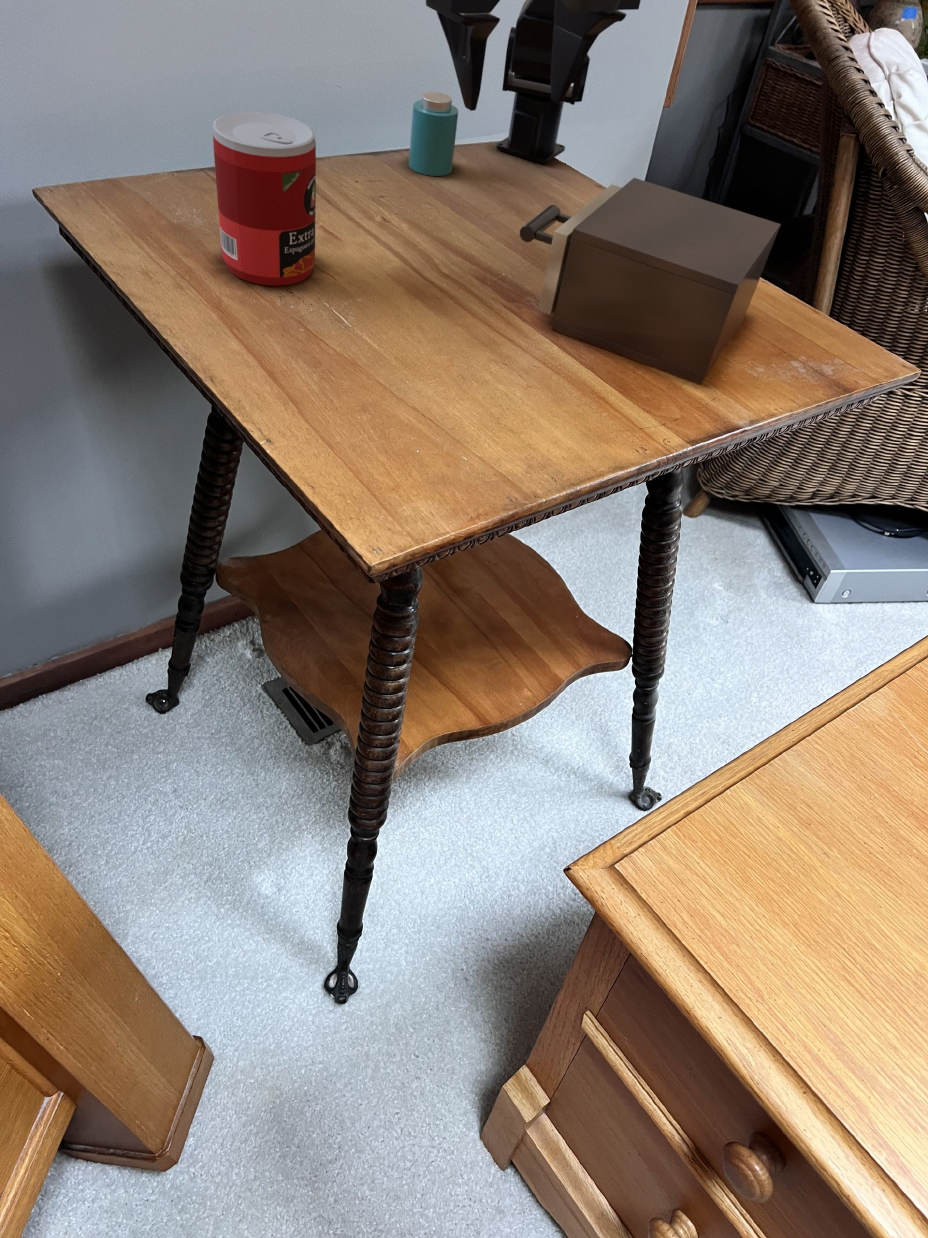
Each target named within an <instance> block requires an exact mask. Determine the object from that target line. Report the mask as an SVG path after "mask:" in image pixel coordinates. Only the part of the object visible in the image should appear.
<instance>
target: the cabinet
mask: <svg viewBox="0 0 928 1238" xmlns="http://www.w3.org/2000/svg"><path fill="white" fill-rule="evenodd" d="M781 225H782V224H781V223H778V222H775V221H772V220H770V219H766V218H763V217H759V216H756V215H753V214H750V213H747V212H743V211H741V210H738V209H734V208H731V207H728V206H725V205H722V204H719V203H715V202H713V201H709V200H706V199H704V198H700V197H696V196H693V195H690V194H687V193H684V192H680V191H678V190H674V189H672V188H669V187H665V186H662V185H658V184H656V183H652V182H649V181H646V180H643V179H640V178H637V177H633V178H632V179H630V180H629V181H628V182H627V183H625V185H623V186H621V189H620V190H619V191H618V192H616V193H615V194H614V195H613V196H612V197H610V198H609V199H608V200H607V201H606V202H605V203H603V204H602V205H601V206H600V207H599V208H597V209H596V210H595V211H594V212H593V213H592V214H590V215H589V216H588V217H587V218H586V219H584V220H583V221H582V222H581V223H580V224H578V225H577V226H576V227H575V228H574V229H573V232H572V237H571V242H570V246H569V251H568V255H567V260H566V265H565V269H564V274H563V278H562V283H561V287H560V292H559V297H558V301H557V306H556V310H555V311H554V315H553V321H552V324H551V328H550V329H551V331H554V332H557V333H560V334H562V335H565V336H568V337H570V338H572V339H576V340H579V341H581V342H584V343H586V344H590V345H592V346H595V347H598V348H600V349H603V350H605V351H608V352H611V353H614V354H615V355H619V356H622V357H624V358H626V359H630V360H633V361H636V362H638V363H641V364H643V365H646V366H649V367H651V368H654V369H657V370H659V371H663V372H665V373H666V374H670V375H673V376H676V377H678V378H681V379H682V380H683V379H684V380H687V381H689V382H691V383H694V384H696V385H700V386H702V385H703V384H704V382H705V380H706V378H707V377H708V375H709V373H710V372H711V371H712V369H713V367H714V366H715V364H716V363H717V361H718V360H719V358H720V357H721V355H722V354H723V352H724V350H725V349H726V347H727V346H728V344H729V343H730V341H731V339H732V338H733V337H734V335H735V333H736V331H737V330H738V328H739V326H740V325H741V324H742V322H743V321H744V319H745V318H746V315H747V312H748V309H749V307H750V305H751V302H752V300H753V297H754V294H755V292H756V289H757V287H758V284H759V281H760V280H761V277H762V274H763V271H764V269H765V266H766V263H767V261H768V258H769V256H770V253H771V250H772V248H773V245H774V243H775V240H776V238H777V235H778V233H779V230H780V228H781Z"/></svg>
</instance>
